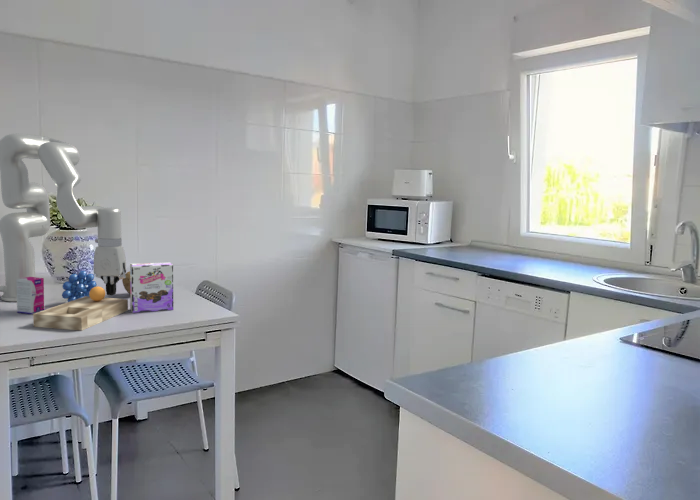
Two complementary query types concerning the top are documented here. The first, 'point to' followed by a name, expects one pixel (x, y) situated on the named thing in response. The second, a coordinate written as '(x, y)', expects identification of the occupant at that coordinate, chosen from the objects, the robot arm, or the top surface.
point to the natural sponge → (127, 282)
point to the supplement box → (30, 295)
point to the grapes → (78, 286)
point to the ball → (97, 293)
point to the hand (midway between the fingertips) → (111, 294)
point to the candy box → (151, 287)
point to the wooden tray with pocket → (80, 313)
